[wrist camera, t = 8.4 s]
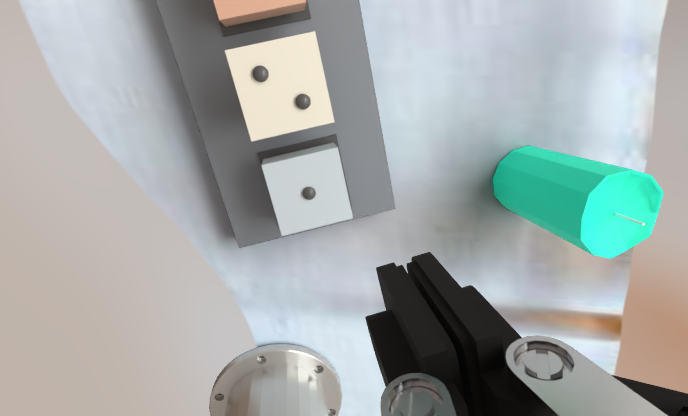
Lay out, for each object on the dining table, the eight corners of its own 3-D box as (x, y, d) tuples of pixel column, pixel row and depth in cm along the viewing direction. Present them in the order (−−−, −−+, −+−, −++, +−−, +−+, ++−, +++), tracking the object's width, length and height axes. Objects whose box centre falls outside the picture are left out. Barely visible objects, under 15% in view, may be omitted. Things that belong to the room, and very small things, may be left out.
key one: (347, 208, 29) (353, 218, 26) (282, 224, 28) (281, 236, 26) (333, 142, 27) (337, 147, 25) (263, 158, 27) (261, 165, 24)
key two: (330, 119, 25) (335, 122, 23) (254, 136, 25) (251, 142, 22) (312, 36, 23) (315, 30, 21) (230, 54, 23) (224, 50, 21)
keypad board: (389, 201, 32) (396, 209, 30) (242, 238, 31) (238, 249, 29) (335, -99, 25) (339, -117, 23) (142, -63, 24) (128, -77, 22)
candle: (488, 211, 34) (588, 272, 23) (496, 146, 32) (610, 176, 21) (547, 208, 35) (672, 266, 24) (559, 145, 33) (701, 173, 22)
